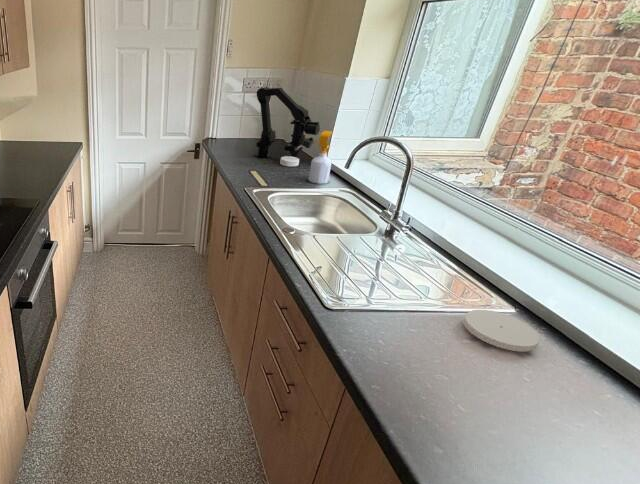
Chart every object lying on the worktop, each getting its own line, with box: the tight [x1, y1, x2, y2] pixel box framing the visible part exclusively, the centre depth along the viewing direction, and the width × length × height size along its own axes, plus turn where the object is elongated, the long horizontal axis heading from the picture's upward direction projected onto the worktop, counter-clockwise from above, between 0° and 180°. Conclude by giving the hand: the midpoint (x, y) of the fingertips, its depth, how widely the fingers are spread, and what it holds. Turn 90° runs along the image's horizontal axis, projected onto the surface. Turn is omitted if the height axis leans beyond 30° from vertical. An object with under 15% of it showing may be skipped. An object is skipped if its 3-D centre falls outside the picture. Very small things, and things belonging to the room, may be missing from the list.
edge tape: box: [249, 170, 269, 187], centre depth 212 cm, size 24×3×1 cm, turn 178°
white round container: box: [279, 155, 300, 168], centre depth 233 cm, size 10×10×4 cm
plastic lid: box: [462, 309, 541, 353], centre depth 100 cm, size 14×14×2 cm
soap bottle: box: [307, 130, 334, 185], centre depth 201 cm, size 9×9×25 cm
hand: (294, 160), depth 237 cm, fingers closed
